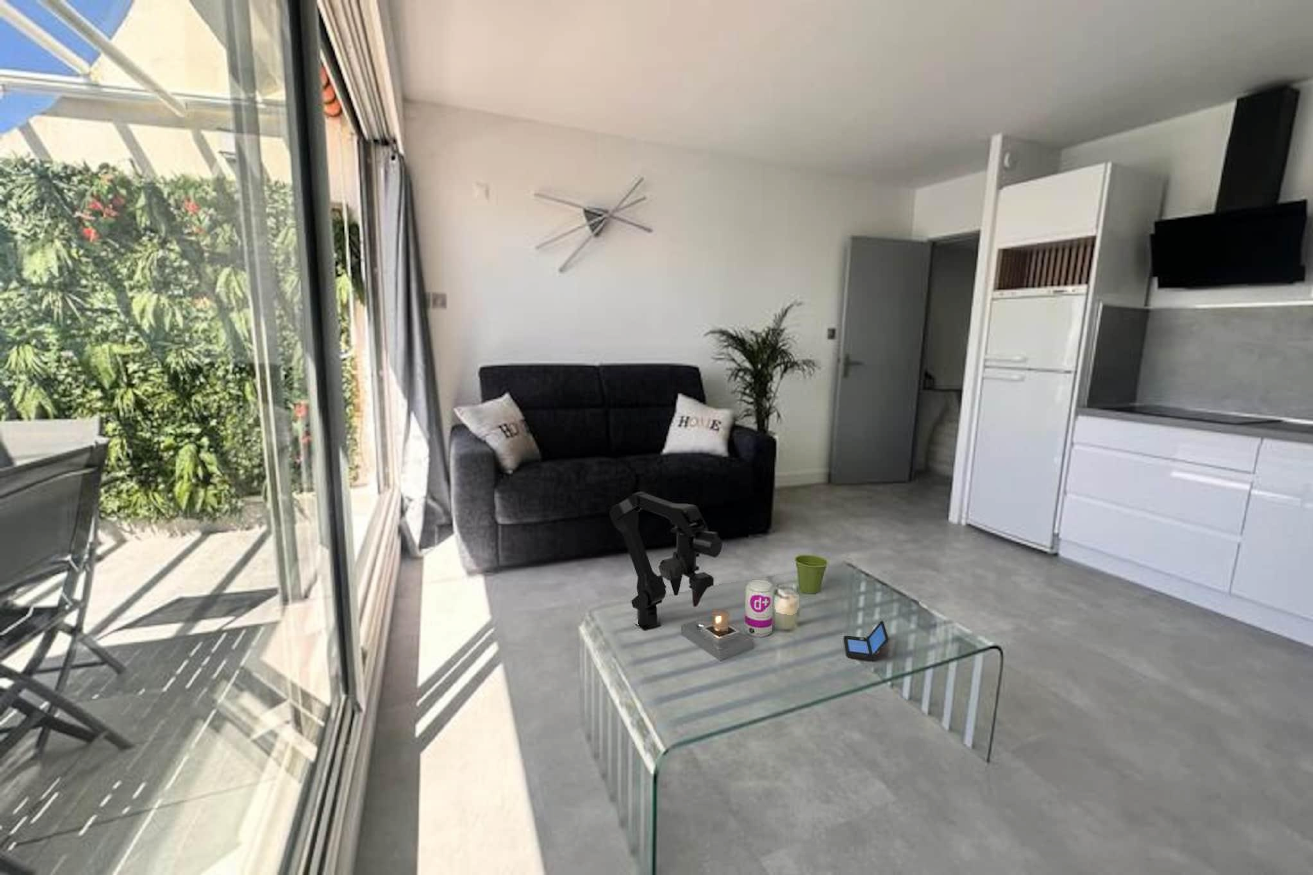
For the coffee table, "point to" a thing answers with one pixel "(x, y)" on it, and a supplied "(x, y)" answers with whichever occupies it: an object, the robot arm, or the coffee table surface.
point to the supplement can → (759, 608)
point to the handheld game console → (866, 644)
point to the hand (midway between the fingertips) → (685, 600)
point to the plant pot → (810, 572)
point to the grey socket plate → (716, 639)
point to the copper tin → (720, 622)
